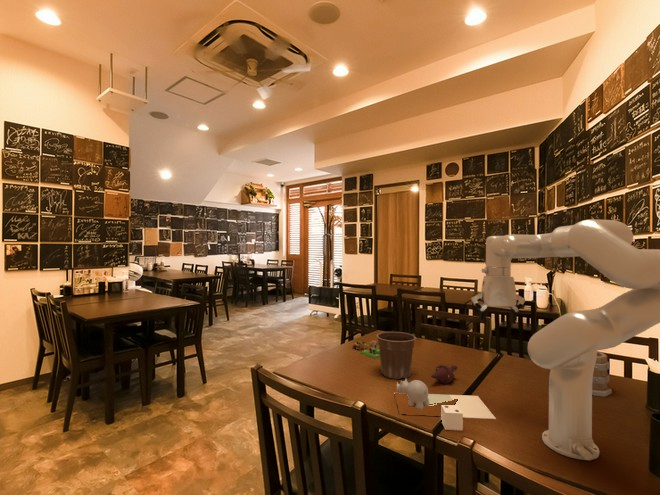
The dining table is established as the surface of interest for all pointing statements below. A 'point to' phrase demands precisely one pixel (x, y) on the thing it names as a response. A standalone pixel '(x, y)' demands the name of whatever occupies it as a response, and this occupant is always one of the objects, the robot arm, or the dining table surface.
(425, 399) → the round bodied animal figurine
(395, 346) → the plant pot
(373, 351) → the toy garden set
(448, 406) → the die
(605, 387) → the tankard
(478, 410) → the game mat
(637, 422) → the dining table surface
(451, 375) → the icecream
